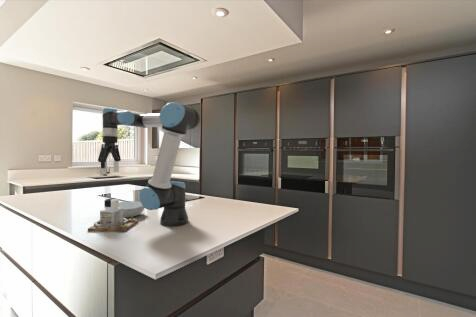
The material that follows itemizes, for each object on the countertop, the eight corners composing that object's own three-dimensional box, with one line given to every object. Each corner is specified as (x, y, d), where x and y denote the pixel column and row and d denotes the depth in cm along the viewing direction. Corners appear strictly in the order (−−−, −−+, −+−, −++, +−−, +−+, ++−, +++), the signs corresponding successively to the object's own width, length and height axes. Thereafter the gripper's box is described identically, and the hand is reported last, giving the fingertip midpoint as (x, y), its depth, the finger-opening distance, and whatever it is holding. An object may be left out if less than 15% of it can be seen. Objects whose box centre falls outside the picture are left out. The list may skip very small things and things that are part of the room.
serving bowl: (99, 218, 140) (98, 206, 140) (126, 210, 160) (126, 200, 160) (127, 222, 134) (127, 210, 133) (152, 213, 153) (152, 202, 153)
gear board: (138, 222, 134) (138, 215, 134) (124, 231, 118) (124, 223, 118) (105, 221, 134) (105, 214, 134) (87, 231, 118) (87, 223, 118)
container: (99, 225, 122) (99, 200, 122) (109, 221, 130) (109, 197, 130) (113, 226, 121) (113, 200, 121) (123, 221, 129) (123, 197, 129)
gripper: (114, 137, 150) (114, 171, 150) (90, 134, 125) (90, 175, 125) (126, 137, 150) (126, 171, 150) (104, 134, 125) (104, 175, 126)
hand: (110, 173), depth 138 cm, fingers open, 13 cm apart
